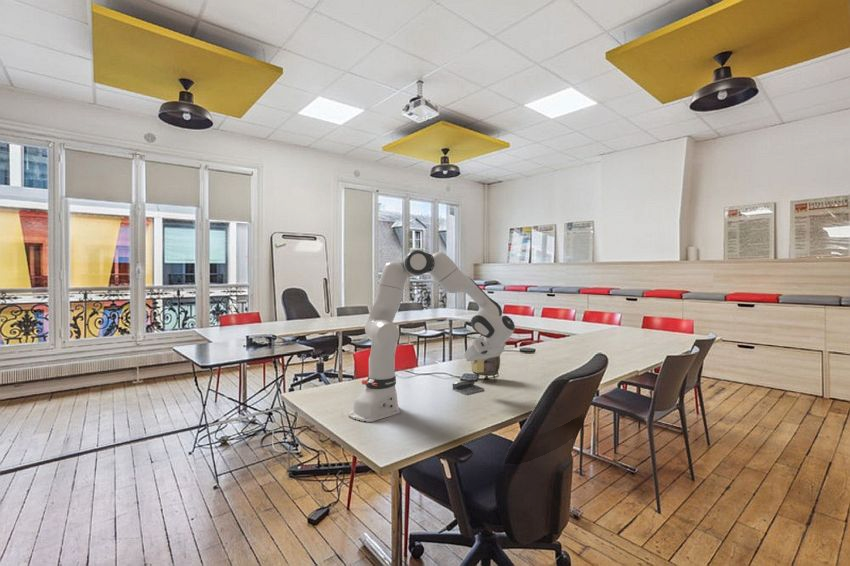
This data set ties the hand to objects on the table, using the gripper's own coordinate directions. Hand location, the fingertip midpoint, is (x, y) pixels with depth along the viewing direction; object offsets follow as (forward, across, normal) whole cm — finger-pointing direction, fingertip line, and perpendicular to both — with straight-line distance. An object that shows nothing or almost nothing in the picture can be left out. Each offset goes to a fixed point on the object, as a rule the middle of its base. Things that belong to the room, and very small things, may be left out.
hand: (476, 361), depth 186 cm
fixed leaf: (+18, -2, +5) cm, 18 cm away
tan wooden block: (+3, 0, +4) cm, 4 cm away
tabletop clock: (+24, -22, -1) cm, 32 cm away
